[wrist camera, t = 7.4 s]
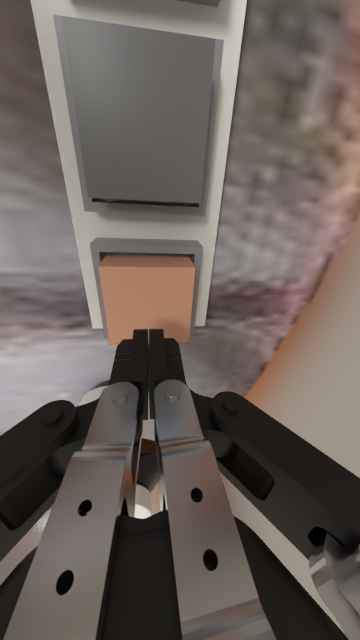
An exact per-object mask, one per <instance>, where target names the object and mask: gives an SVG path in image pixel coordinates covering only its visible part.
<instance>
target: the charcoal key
mask: <svg viewBox="0 0 360 640" xmlns="http://www.w3.org/2000/svg"><path fill="white" fill-rule="evenodd" d="M62 23H63V30H64V37H65V44H66V50H67V57H68V64H69V71H70V78H71V84H72V91H73V98H74V105H75V112H76V118H77V125H78V132H79V139H80V146H81V152H82V159H83V166H84V173H85V179H86V186H87V193H88V198H104V199H124V200H144V201H163V202H183V203H201V199H202V187H203V176H204V165H205V153H206V142H207V131H208V119H209V108H210V97H211V85H212V74H213V63H214V51H215V40H216V39H215V38H208V37H201V36H194V35H188V34H181V33H174V32H167V31H161V30H154V29H147V28H141V27H134V26H127V25H120V24H114V23H107V22H100V21H94V20H87V19H80V18H73V17H67V16H62Z"/></svg>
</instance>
